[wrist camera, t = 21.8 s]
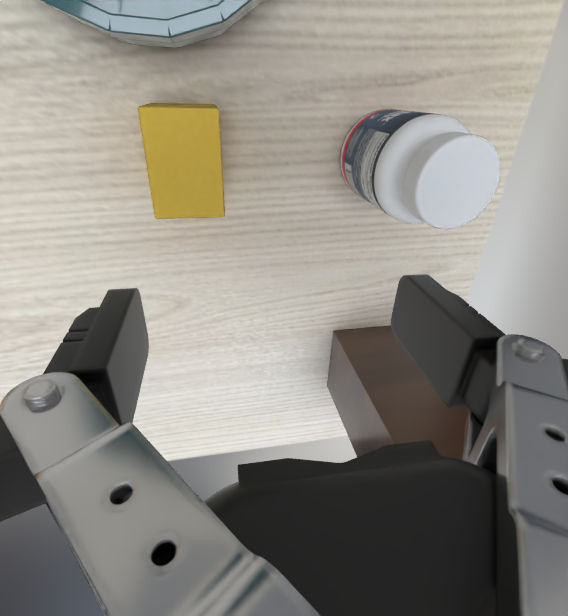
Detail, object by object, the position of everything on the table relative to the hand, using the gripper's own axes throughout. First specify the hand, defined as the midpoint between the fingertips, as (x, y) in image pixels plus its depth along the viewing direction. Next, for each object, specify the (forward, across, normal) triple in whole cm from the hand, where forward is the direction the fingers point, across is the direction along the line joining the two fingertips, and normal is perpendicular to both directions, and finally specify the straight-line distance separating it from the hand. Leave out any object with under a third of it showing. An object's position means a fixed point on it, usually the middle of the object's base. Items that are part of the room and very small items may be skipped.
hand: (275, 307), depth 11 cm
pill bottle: (+14, -9, -2) cm, 17 cm away
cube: (+14, +3, -3) cm, 14 cm away
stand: (+14, -10, +14) cm, 22 cm away
